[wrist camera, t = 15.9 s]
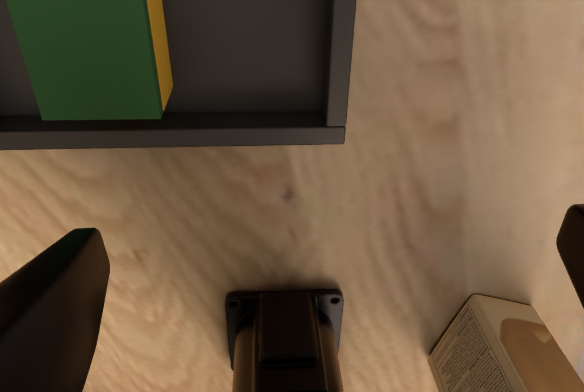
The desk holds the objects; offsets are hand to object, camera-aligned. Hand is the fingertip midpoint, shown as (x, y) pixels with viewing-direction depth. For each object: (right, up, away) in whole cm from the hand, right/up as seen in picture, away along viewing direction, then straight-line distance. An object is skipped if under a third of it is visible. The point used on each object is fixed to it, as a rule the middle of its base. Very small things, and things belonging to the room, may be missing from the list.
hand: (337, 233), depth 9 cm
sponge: (-8, +7, +8) cm, 13 cm away
